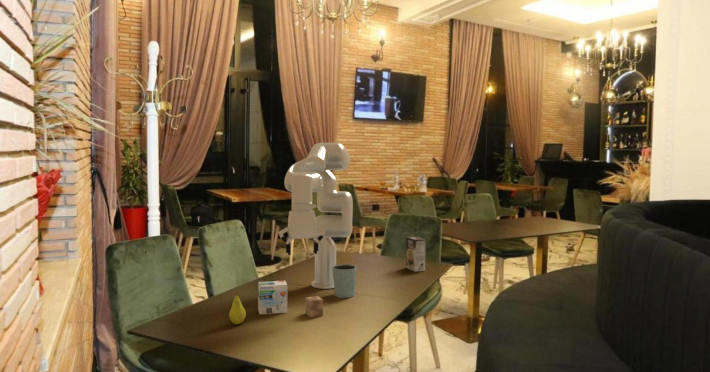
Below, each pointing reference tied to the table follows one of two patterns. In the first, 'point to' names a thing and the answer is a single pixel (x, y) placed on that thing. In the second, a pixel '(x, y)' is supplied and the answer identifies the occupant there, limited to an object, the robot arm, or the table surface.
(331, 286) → the robot arm
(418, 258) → the coffee box
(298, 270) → the table surface
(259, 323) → the table surface
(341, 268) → the blue cup
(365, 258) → the table surface
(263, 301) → the light bulb box
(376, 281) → the table surface
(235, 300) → the fruit
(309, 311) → the walnut block
